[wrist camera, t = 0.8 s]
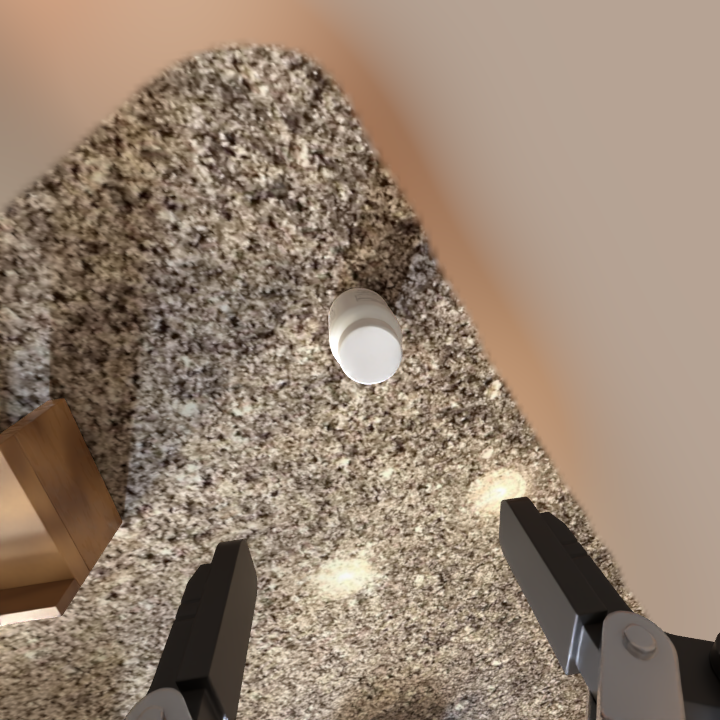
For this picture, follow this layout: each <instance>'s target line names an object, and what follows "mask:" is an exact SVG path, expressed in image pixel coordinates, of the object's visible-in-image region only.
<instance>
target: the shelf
mask: <svg viewBox="0 0 720 720" xmlns="http://www.w3.org/2000/svg"><path fill="white" fill-rule="evenodd" d="M121 524H122V519H121V517H120V515H119V513H118V511H117V509H116V507H115V505H114V502H113V500H112V498H111V496H110V494H109V492H108V490H107V487H106V485H105V483H104V481H103V479H102V477H101V475H100V473H99V470H98V468H97V466H96V464H95V462H94V460H93V458H92V456H91V453H90V451H89V449H88V447H87V445H86V443H85V441H84V439H83V436H82V434H81V432H80V430H79V428H78V426H77V424H76V422H75V419H74V417H73V415H72V413H71V411H70V409H69V407H68V405H67V402H66V400H65V399H64V398H61V399H54V400H48V401H47V402H45V403H44V404H42V405H41V406H39V407H38V408H36V409H35V410H34V411H32V412H31V413H29V414H28V415H26V416H25V417H23V418H22V419H21V420H19V421H18V422H16V423H15V424H13V425H12V426H10V427H9V428H7V429H6V430H5V431H3V432H2V433H0V626H3V625H9V624H15V623H21V622H28V621H34V620H40V619H46V618H52V617H58V616H62V615H63V614H64V612H65V610H66V609H67V607H68V606H69V604H70V603H71V601H72V600H73V598H74V597H75V595H76V593H77V592H78V590H79V589H80V587H81V585H82V584H83V582H84V581H85V579H86V578H87V576H88V575H89V573H90V571H91V570H92V568H93V567H94V565H95V564H96V562H97V561H98V559H99V558H100V556H101V554H102V553H103V551H104V550H105V548H106V547H107V545H108V544H109V542H110V541H111V539H112V537H113V536H114V534H115V533H116V531H117V530H118V528H119V527H120V525H121Z"/></svg>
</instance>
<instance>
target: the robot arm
mask: <svg viewBox="0 0 720 720" xmlns="http://www.w3.org/2000/svg"><path fill="white" fill-rule="evenodd" d="M499 540H500V545H501V548H502V551H503V554H504V556H505V558H506V560H507V562H508V564H509V566H510V568H511V570H512V572H513V574H514V576H515V578H516V580H517V582H518V583H519V585H520V587H521V589H522V591H523V593H524V595H525V597H526V599H527V601H528V603H529V605H530V607H531V609H532V610H533V612H534V614H535V616H536V618H537V620H538V622H539V624H540V626H541V628H542V630H543V632H544V634H545V636H546V637H547V639H548V641H549V643H550V645H551V647H552V649H553V651H554V653H555V655H556V657H557V659H558V661H559V663H560V664H561V666H562V668H563V670H564V672H565V674H566V675H572V674H578V673H581V675H582V677H583V678H584V680H585V682H586V684H587V686H588V691H587V705H586V720H720V633H719V634H718V635H717V638H716V640H715V642H711V641H706V640H700V639H694V638H688V637H682V636H677V635H673V634H669V633H666V632H663V631H662V630H661V629H660V628H659V627H658V626H657V625H656V624H654V623H653V622H652V621H650V620H648V619H647V618H645V617H643V616H641V615H639V614H636V613H634V612H633V611H632V610H631V609H630V608H629V607H628V606H627V605H626V603H625V602H624V601H623V599H622V598H621V597H620V595H619V594H618V593H617V591H616V590H615V589H614V588H613V586H612V585H611V584H610V582H609V581H608V580H607V578H606V577H605V576H604V574H603V573H602V572H601V570H600V569H599V568H598V567H597V565H596V564H595V563H594V561H593V560H592V559H591V557H590V556H588V555H587V552H586V551H585V549H584V548H583V547H582V546H581V544H580V543H578V542H577V539H576V538H575V536H574V535H573V534H572V532H571V531H570V530H569V528H568V527H567V526H566V525H565V524H564V523H563V522H562V521H560V520H559V519H558V518H556V517H555V516H554V515H552V514H551V513H549V512H544V513H539V512H538V510H537V509H536V507H535V506H534V504H533V503H532V502H531V500H530V499H529V498H527V497H520V498H514V499H507V500H502V502H501V509H500V527H499ZM256 596H257V575H256V571H255V568H254V564H253V561H252V558H251V554H250V551H249V548H248V545H247V542H246V540H245V539H240V540H233V541H227V542H220V543H219V544H218V545H217V547H216V550H215V553H214V557H213V560H212V563H210V564H203V565H200V567H199V568H198V569H197V571H196V572H195V573H194V575H193V576H192V577H191V579H190V580H189V581H188V583H187V586H186V589H185V592H184V595H183V597H182V600H181V605H180V606H179V609H178V611H177V614H176V617H175V618H176V620H175V621H174V623H173V625H172V628H171V631H170V634H169V637H168V639H167V642H166V645H165V648H164V651H163V653H162V656H161V659H160V662H159V665H158V667H157V670H156V673H155V676H154V679H153V681H152V684H151V686H150V689H149V691H148V693H147V694H146V696H145V697H143V698H142V699H141V700H140V701H139V702H138V703H136V705H135V706H134V707H133V708H132V709H131V710H130V712H129V713H128V714H127V715H126V717H125V719H124V720H236V715H237V709H238V703H239V697H240V691H241V685H242V679H243V673H244V668H245V662H246V656H247V650H248V644H249V638H250V632H251V626H252V620H253V614H254V608H255V602H256Z"/></svg>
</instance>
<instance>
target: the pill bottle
mask: <svg viewBox="0 0 720 720" xmlns="http://www.w3.org/2000/svg"><path fill="white" fill-rule="evenodd" d="M328 323H329V341H330V347H331V351H332V353H333V355H334V357H335V358H336V360H337V361H338V362H339V363H340V365H341V368H342V369H343V371H344V372H345V374H346V375H347V376H348V377H349V378H351V379H352V380H354V381H356V382H358V383H362V384H376V383H380V382H383V381H385V380H386V379H388V378H390V377H391V376H392V375H393V374H394V373H395V372H396V371H397V369H398V368H399V366H400V363H401V360H402V346H401V345H402V330H401V327H400V324H399V322H398V320H397V318H396V317H395V315H394V314H393V312H392V311H391V309H390V308H389V307H388V305H387V304H386V302H385V301H384V299H383V298H382V297H381V296H380V295H379V294H377V293H376V292H374V291H372V290H369V289H365V288H354V289H350V290H347V291H345V292H343V293H342V294H340V295H339V296H338V297H337V298H336V299H335V300H334V302H333V304H332V306H331V308H330V311H329V317H328Z"/></svg>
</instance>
